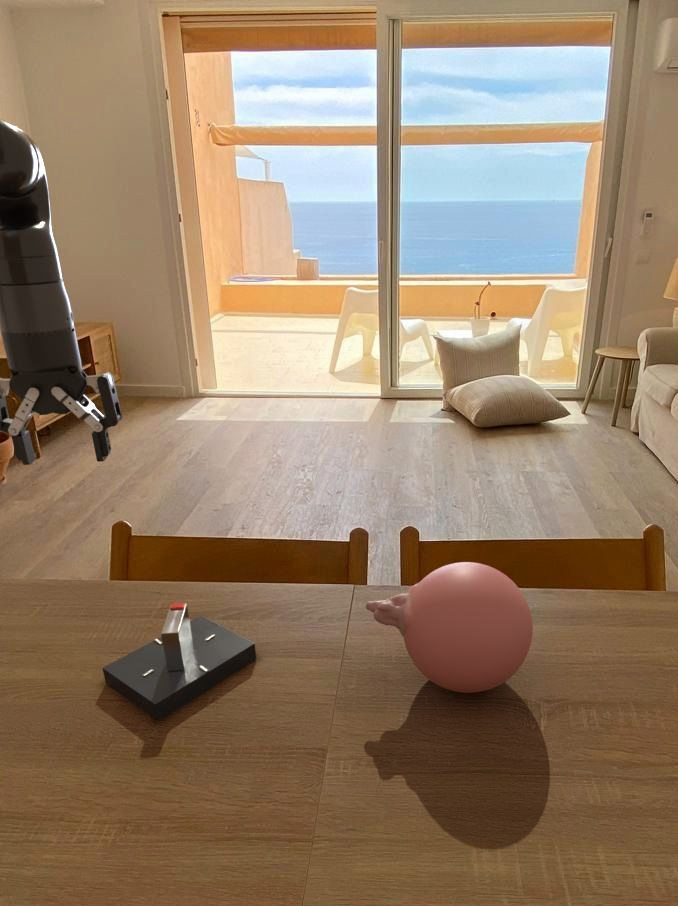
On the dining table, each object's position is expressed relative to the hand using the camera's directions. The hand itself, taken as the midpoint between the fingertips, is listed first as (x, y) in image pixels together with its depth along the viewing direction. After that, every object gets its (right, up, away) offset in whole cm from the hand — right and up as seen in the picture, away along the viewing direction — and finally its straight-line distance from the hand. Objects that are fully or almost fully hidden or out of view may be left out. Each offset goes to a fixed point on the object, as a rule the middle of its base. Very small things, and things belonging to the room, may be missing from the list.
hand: (66, 461), depth 84 cm
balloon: (+46, -27, +3) cm, 54 cm away
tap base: (+13, -26, +4) cm, 30 cm away
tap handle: (+13, -24, +3) cm, 28 cm away
